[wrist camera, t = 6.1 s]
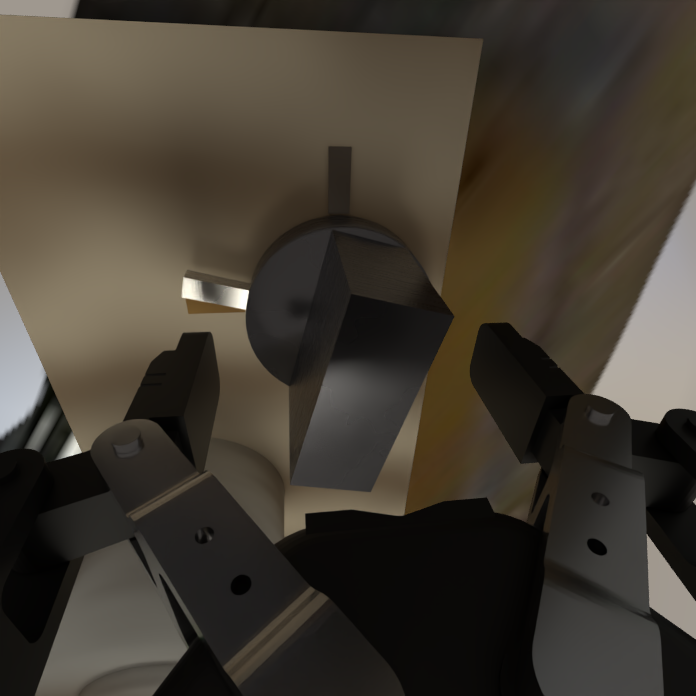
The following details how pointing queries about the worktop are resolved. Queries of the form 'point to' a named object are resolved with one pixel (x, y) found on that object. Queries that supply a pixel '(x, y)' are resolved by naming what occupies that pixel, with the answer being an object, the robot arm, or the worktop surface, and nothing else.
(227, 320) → the base
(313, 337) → the dark grey rotary knob
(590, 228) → the worktop surface
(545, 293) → the worktop surface
